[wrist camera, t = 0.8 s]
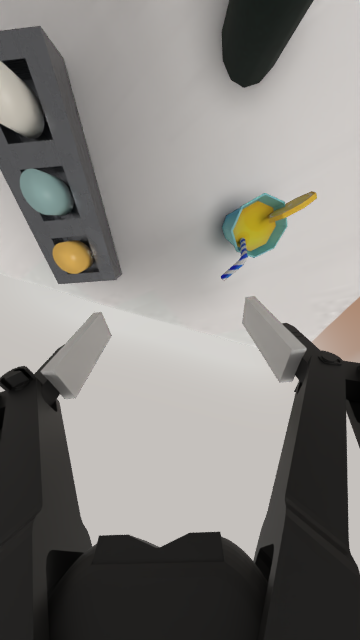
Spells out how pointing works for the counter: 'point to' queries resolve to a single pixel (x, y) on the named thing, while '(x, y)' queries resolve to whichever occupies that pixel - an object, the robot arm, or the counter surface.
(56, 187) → the button teal
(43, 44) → the console
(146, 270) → the counter surface
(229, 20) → the wine bottle
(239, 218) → the cup
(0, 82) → the button ivory
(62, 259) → the button amber
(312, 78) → the counter surface
